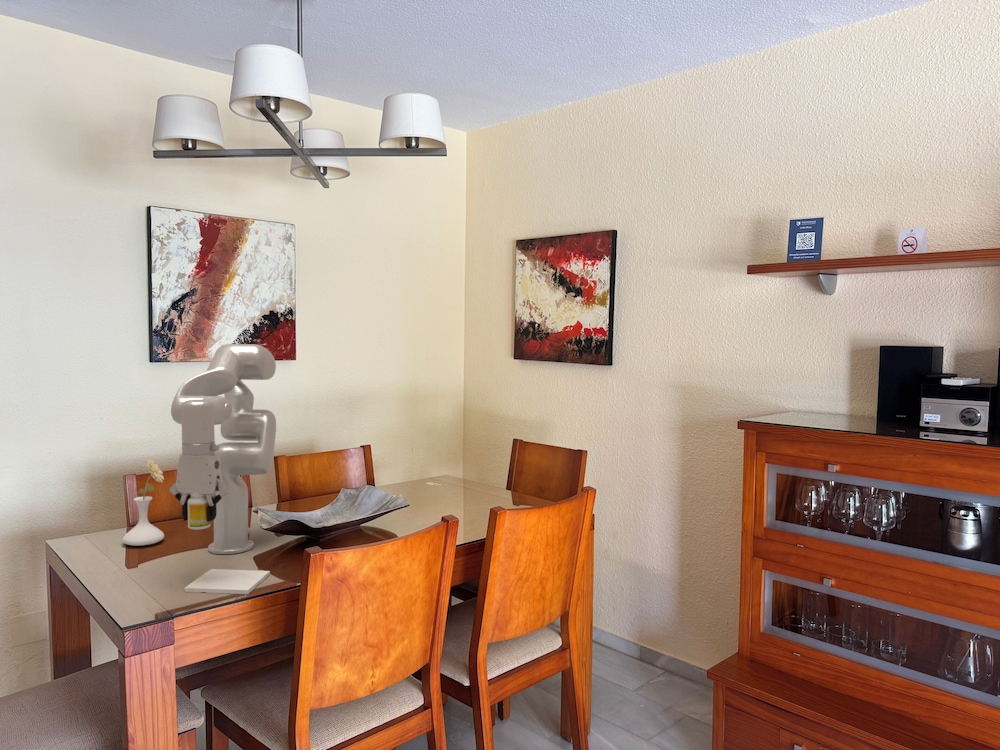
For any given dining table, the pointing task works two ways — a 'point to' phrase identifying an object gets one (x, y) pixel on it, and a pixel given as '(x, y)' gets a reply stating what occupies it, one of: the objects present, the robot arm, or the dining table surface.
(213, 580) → the mat
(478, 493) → the dining table surface
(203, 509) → the supplement bottle
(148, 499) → the flower in vase
